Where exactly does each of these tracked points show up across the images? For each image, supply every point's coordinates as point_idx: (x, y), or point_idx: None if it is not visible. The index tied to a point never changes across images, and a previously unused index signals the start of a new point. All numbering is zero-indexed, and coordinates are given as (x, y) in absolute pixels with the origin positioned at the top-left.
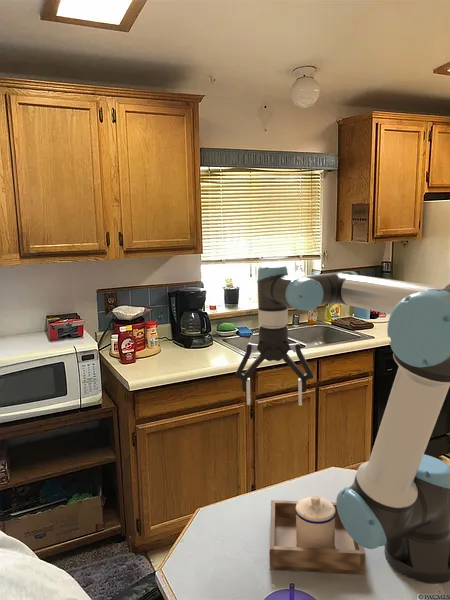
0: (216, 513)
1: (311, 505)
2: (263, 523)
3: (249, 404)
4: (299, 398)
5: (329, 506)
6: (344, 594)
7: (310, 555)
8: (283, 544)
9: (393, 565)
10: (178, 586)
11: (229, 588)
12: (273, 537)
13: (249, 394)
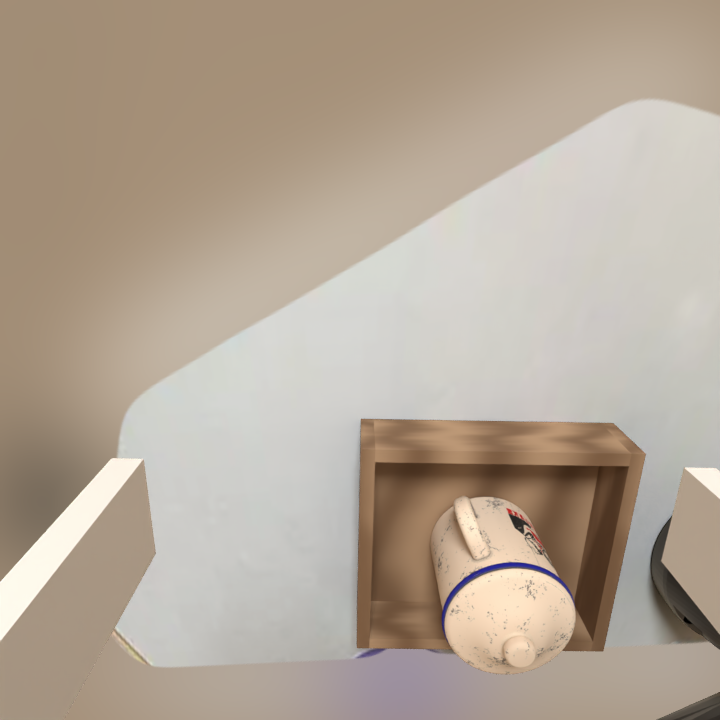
0: (179, 403)
1: (499, 659)
2: (336, 443)
3: (150, 557)
4: (715, 621)
5: (559, 633)
6: None
7: None
8: (393, 544)
9: (658, 590)
10: (154, 650)
11: (268, 649)
12: (367, 610)
13: (101, 647)
